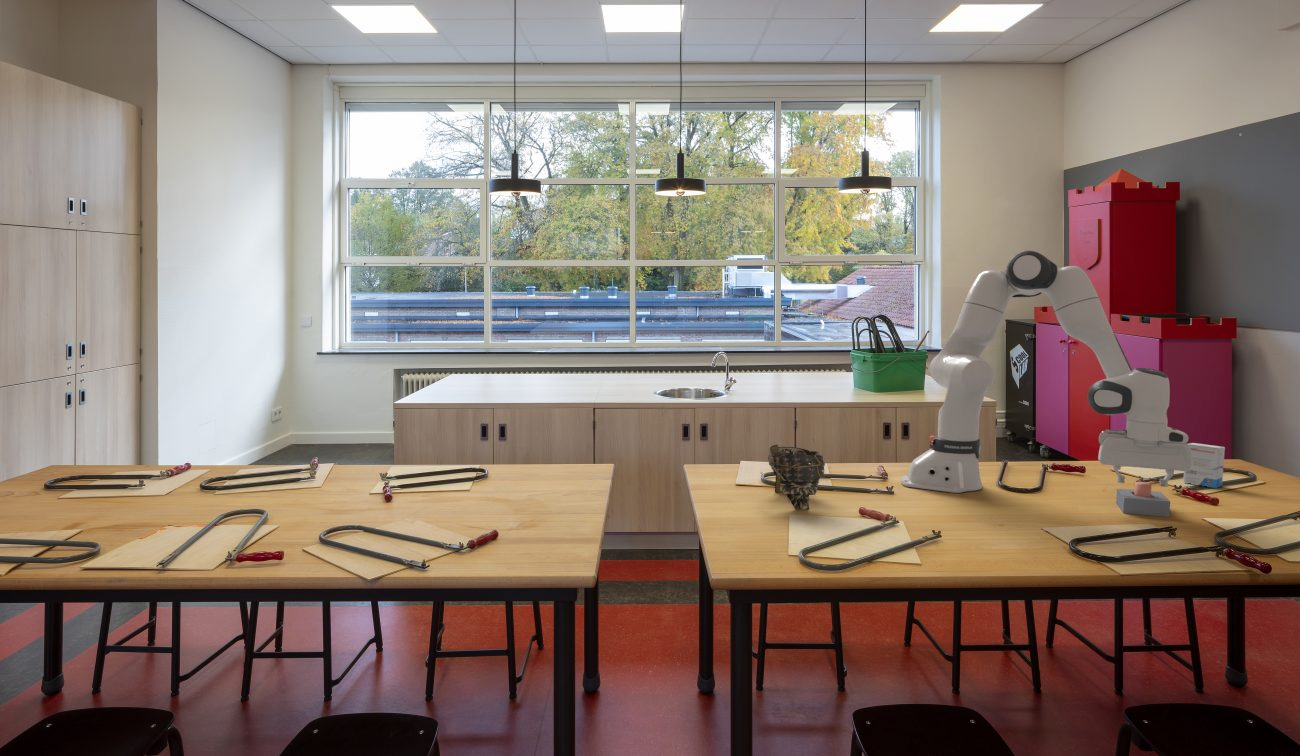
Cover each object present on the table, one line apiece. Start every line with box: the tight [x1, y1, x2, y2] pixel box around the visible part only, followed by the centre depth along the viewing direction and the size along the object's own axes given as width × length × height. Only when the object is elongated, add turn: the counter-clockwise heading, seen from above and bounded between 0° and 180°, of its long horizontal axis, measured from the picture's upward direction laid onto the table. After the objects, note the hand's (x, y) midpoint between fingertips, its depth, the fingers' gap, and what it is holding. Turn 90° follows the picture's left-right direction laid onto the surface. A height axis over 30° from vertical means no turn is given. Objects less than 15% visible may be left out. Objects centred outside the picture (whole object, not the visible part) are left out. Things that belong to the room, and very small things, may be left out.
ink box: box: [1182, 442, 1226, 489], centre depth 224 cm, size 8×5×12 cm, turn 35°
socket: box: [1115, 488, 1171, 518], centre depth 199 cm, size 10×10×4 cm
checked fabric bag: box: [767, 444, 826, 511], centre depth 211 cm, size 22×15×15 cm
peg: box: [1134, 481, 1152, 497], centre depth 199 cm, size 4×4×7 cm
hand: (1141, 484), depth 198 cm, fingers open, 8 cm apart
